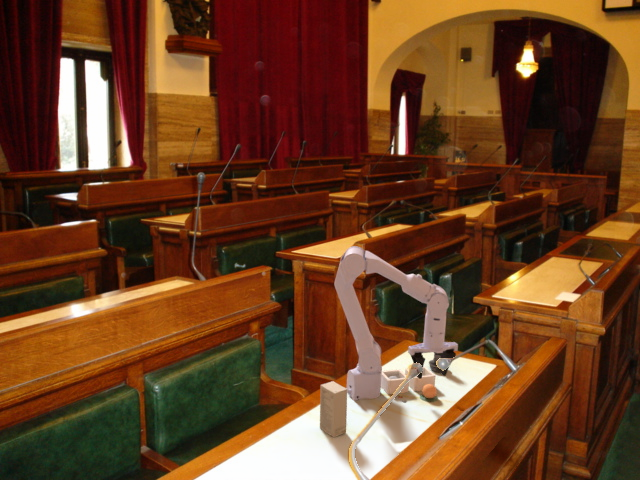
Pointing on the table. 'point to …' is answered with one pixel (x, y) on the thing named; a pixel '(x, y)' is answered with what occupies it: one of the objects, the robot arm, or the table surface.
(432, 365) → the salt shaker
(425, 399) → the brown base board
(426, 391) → the orange ball
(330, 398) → the skincare box
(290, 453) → the table surface
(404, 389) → the open square box
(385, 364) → the table surface
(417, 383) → the beige open box
